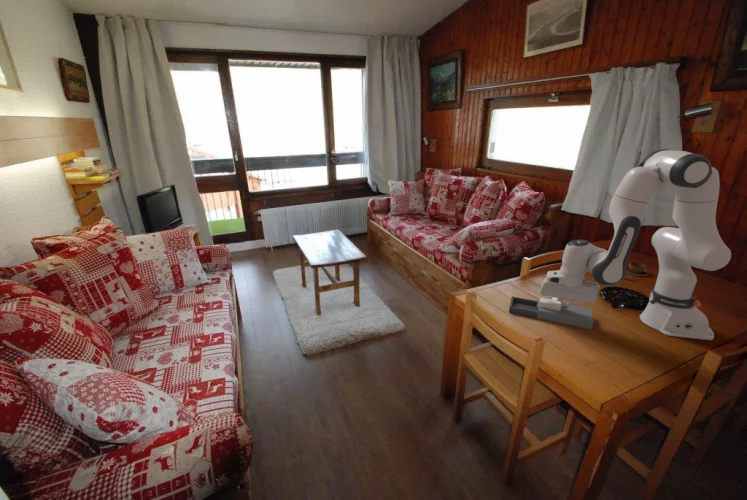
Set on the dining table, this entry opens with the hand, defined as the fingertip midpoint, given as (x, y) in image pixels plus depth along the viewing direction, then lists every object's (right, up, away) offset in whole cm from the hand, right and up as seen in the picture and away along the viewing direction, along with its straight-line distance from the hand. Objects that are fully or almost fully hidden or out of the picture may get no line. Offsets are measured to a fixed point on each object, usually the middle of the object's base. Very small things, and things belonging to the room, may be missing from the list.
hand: (564, 307), depth 139 cm
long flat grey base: (0, -5, +2) cm, 5 cm away
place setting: (+57, +12, +40) cm, 71 cm away
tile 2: (-3, 0, +2) cm, 4 cm away
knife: (+6, +3, +22) cm, 23 cm away
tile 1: (-7, 0, +4) cm, 8 cm away
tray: (-14, -2, +8) cm, 16 cm away
